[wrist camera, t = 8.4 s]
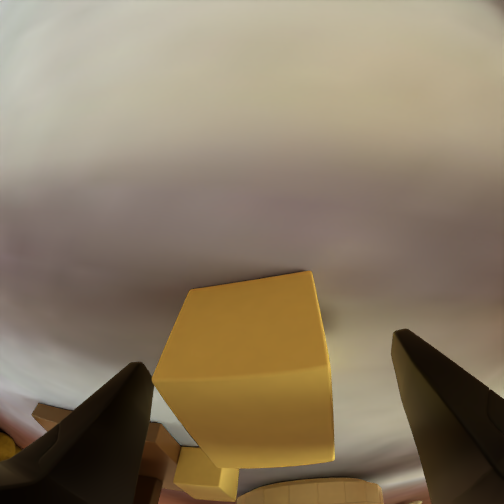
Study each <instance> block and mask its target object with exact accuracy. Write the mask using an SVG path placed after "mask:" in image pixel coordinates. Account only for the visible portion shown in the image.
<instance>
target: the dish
mask: <svg viewBox="0 0 504 504" xmlns="http://www.w3.org/2000/svg"><path fill="white" fill-rule="evenodd" d="M236 504H384V502H383V495H382V489H381V487H380V486H379V485H378V484H376V483H371V482H367V481H365V480H362V479H357V478H316V479H304V480H295V481H288V482H281V483H275V484H270V485H266V486H262V487H259V488H256V489H254V490H252V491H250V492H248V493H245V494H244V495H242V496H240V497H238V498H237V500H236Z"/></svg>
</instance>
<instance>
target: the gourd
mask: <svg viewBox="0 0 504 504" xmlns="http://www.w3.org/2000/svg"><path fill="white" fill-rule="evenodd" d="M20 451H22V449H21V448H19V447H18V446H17V445H15V443H14V440H13V439H12V438H11V437H10V436H9V435H7V434H5V433H2V432H0V461H4V460H7V459H9V458H11V457H13V456H14V455H16V454H17V453H19V452H20Z"/></svg>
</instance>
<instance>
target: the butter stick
mask: <svg viewBox="0 0 504 504" xmlns="http://www.w3.org/2000/svg"><path fill="white" fill-rule="evenodd" d="M238 478H239V468H217V467H216V466H215V465H214V463H213V462H212V461H211V460H210V459H209V458H208V456H207V455H206V454H205V453H204V452H203V450H202V449H201V448H194V447H181V451H180V455H179V460H178V464H177V468H176V472H175V476H174V480H173V483H174V484H176V485H177V486H178V487H179V488H181V489H182V490H183V491H185V492H186V493H187V494H189V495H190V496H192V497H193V498H194V499H201V500H213V501H228V502H235V501H236V496H237V487H238Z"/></svg>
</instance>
